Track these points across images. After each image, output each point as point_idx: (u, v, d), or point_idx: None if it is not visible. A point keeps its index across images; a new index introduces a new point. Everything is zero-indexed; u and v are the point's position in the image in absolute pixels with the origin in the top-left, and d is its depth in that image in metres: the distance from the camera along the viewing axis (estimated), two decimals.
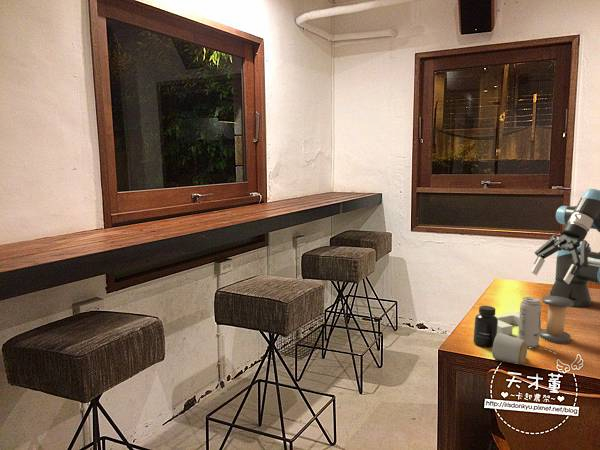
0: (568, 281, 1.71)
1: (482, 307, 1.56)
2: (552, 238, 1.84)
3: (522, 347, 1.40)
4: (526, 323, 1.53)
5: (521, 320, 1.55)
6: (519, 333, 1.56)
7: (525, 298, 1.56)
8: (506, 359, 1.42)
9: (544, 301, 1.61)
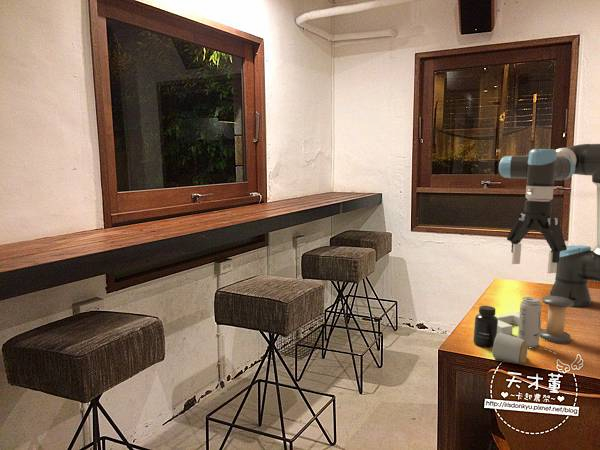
0: (553, 271, 1.47)
1: (482, 307, 1.56)
2: (518, 218, 1.57)
3: (522, 347, 1.40)
4: (526, 323, 1.53)
5: (521, 320, 1.55)
6: (519, 333, 1.56)
7: (525, 298, 1.56)
8: (506, 359, 1.42)
9: (544, 301, 1.61)
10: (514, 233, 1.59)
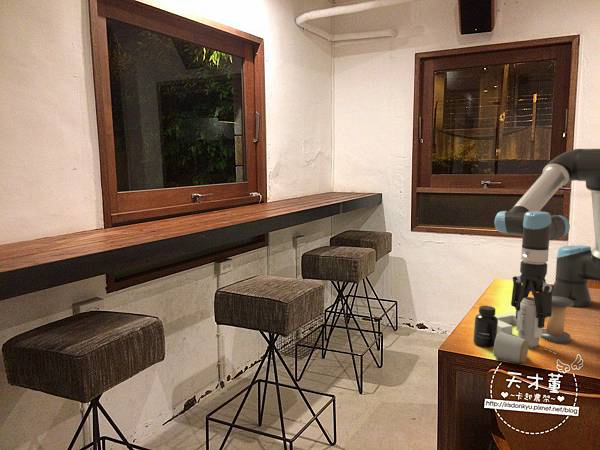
0: (539, 335, 1.53)
1: (482, 307, 1.56)
2: (515, 281, 1.59)
3: (523, 346, 1.41)
4: (526, 323, 1.53)
5: (521, 320, 1.55)
6: (519, 333, 1.56)
7: (525, 298, 1.56)
8: (507, 358, 1.43)
9: None
10: (516, 297, 1.59)
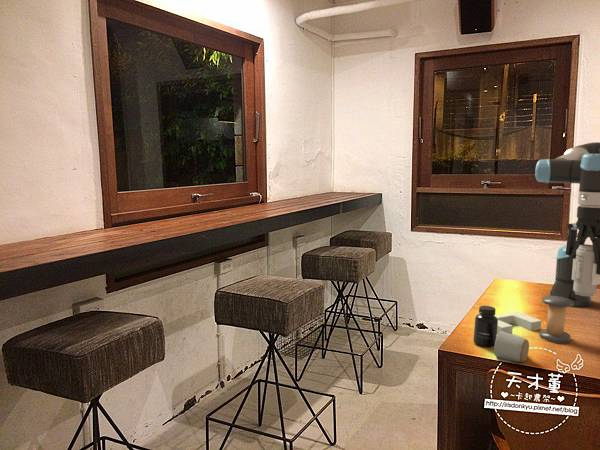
0: (597, 283, 1.47)
1: (482, 307, 1.56)
2: (570, 228, 1.53)
3: (524, 345, 1.41)
4: (583, 270, 1.47)
5: (578, 268, 1.49)
6: (575, 281, 1.50)
7: (582, 245, 1.50)
8: (508, 357, 1.44)
9: (544, 301, 1.61)
10: (571, 245, 1.53)
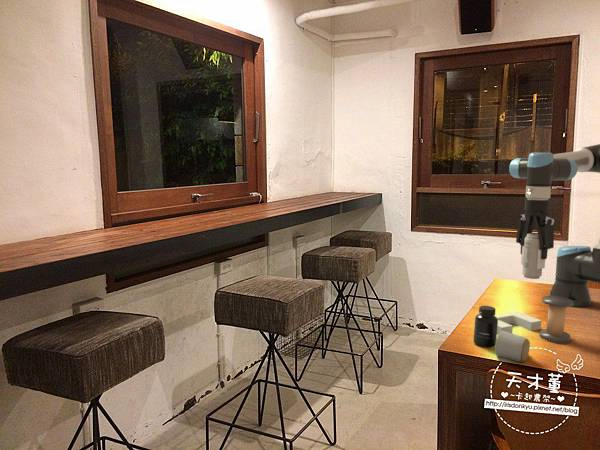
0: (542, 266, 1.66)
1: (482, 307, 1.56)
2: (519, 219, 1.72)
3: (524, 345, 1.42)
4: (530, 255, 1.67)
5: (525, 253, 1.68)
6: (523, 266, 1.69)
7: (529, 233, 1.69)
8: (508, 356, 1.44)
9: (544, 301, 1.61)
10: (521, 234, 1.72)
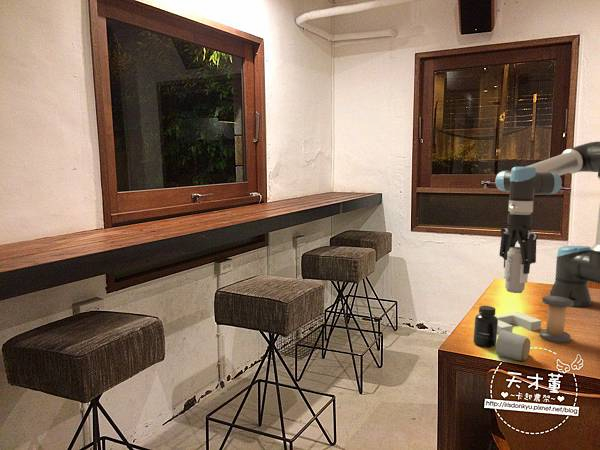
0: (525, 281, 1.66)
1: (482, 307, 1.56)
2: (503, 233, 1.71)
3: (525, 344, 1.42)
4: (512, 269, 1.66)
5: (508, 267, 1.67)
6: (506, 280, 1.69)
7: (512, 247, 1.68)
8: (509, 356, 1.45)
9: (544, 301, 1.61)
10: (504, 248, 1.72)
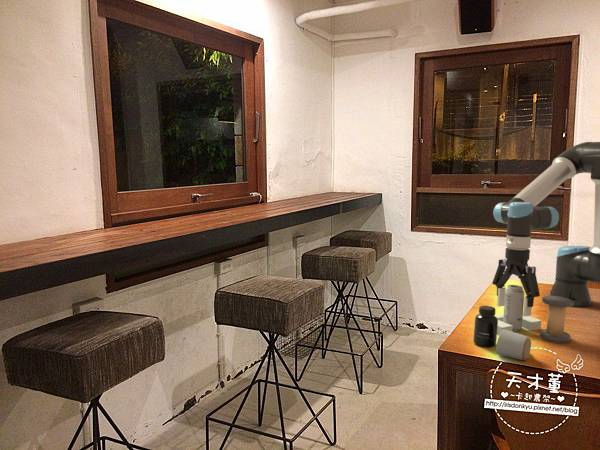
0: (529, 314, 1.65)
1: (482, 307, 1.56)
2: (500, 264, 1.73)
3: (526, 343, 1.43)
4: (510, 308, 1.68)
5: (506, 306, 1.69)
6: (504, 318, 1.71)
7: (509, 286, 1.70)
8: (510, 355, 1.45)
9: (544, 301, 1.61)
10: (498, 277, 1.75)
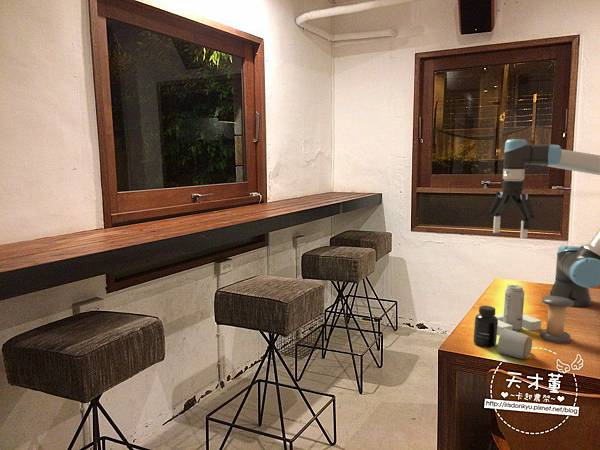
0: (525, 236, 1.86)
1: (482, 307, 1.56)
2: (497, 195, 1.95)
3: (527, 342, 1.44)
4: (510, 308, 1.68)
5: (506, 306, 1.69)
6: (504, 318, 1.71)
7: (509, 286, 1.70)
8: (511, 354, 1.46)
9: (544, 301, 1.61)
10: (494, 208, 1.98)
